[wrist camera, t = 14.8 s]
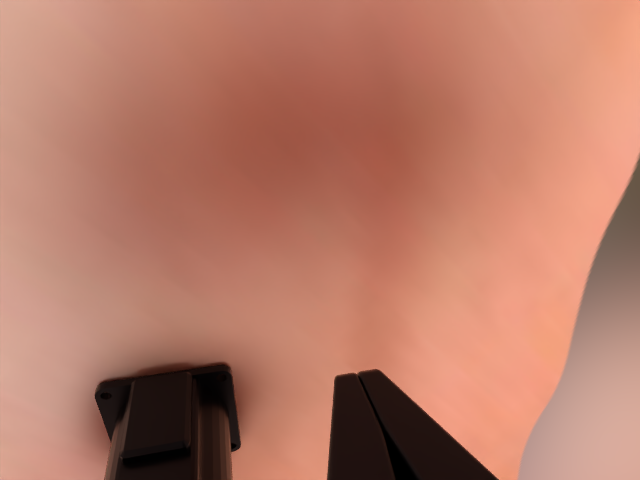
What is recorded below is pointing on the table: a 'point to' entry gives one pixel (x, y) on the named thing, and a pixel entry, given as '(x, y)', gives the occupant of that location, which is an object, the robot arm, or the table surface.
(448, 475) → the robot arm
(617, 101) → the table surface
